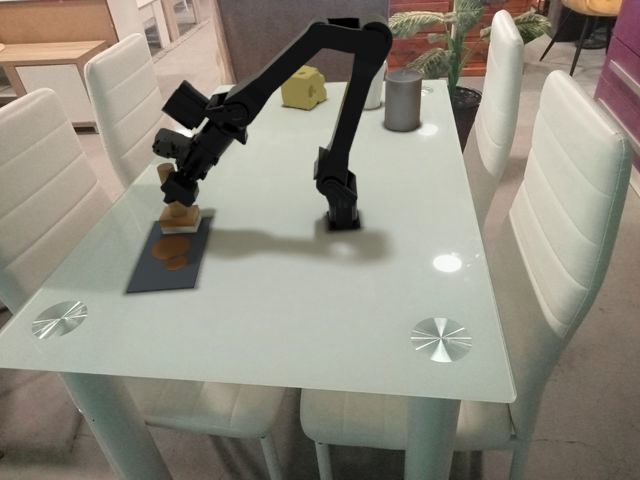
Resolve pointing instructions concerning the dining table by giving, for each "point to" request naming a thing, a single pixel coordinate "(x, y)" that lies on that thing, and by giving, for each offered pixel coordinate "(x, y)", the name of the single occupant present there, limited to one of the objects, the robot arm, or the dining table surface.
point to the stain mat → (169, 259)
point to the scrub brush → (177, 211)
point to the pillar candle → (403, 99)
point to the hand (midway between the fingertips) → (167, 197)
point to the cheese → (304, 88)
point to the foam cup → (375, 89)
